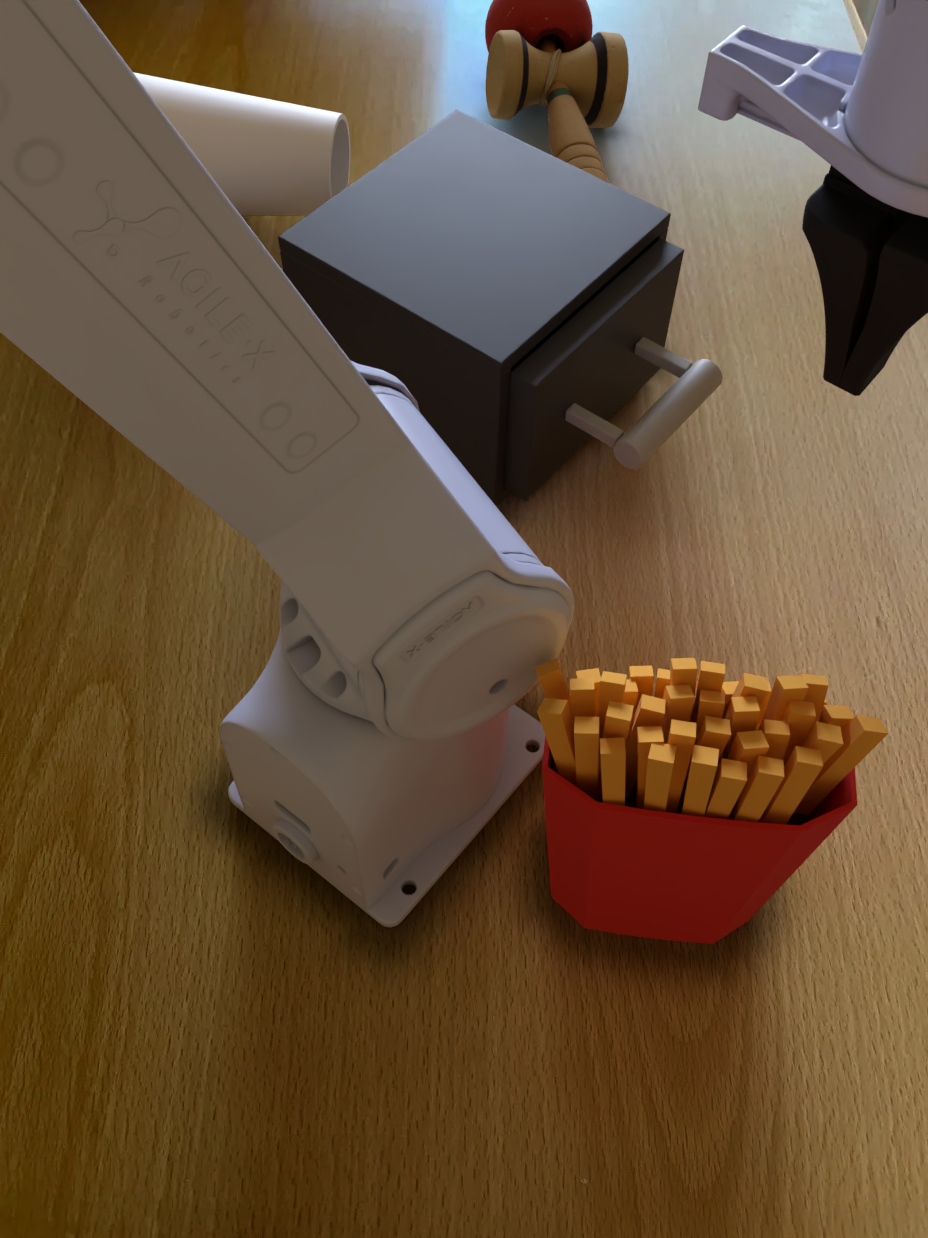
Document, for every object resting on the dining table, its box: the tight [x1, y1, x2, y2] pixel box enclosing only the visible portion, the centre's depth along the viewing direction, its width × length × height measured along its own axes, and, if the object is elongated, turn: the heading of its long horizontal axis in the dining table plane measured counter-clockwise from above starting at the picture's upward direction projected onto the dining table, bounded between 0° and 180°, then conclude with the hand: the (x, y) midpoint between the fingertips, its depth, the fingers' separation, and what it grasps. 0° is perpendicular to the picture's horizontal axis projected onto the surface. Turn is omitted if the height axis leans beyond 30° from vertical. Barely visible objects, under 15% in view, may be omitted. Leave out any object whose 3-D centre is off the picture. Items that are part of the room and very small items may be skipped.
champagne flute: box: [132, 71, 351, 217], centre depth 59 cm, size 7×7×24 cm
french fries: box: [535, 657, 889, 945], centre depth 35 cm, size 9×4×13 cm, turn 83°
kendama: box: [484, 0, 630, 184], centre depth 63 cm, size 8×6×18 cm
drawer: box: [504, 238, 723, 502], centre depth 50 cm, size 14×10×7 cm
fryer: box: [277, 109, 672, 507], centre depth 51 cm, size 11×11×8 cm
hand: (853, 372), depth 40 cm, fingers closed
